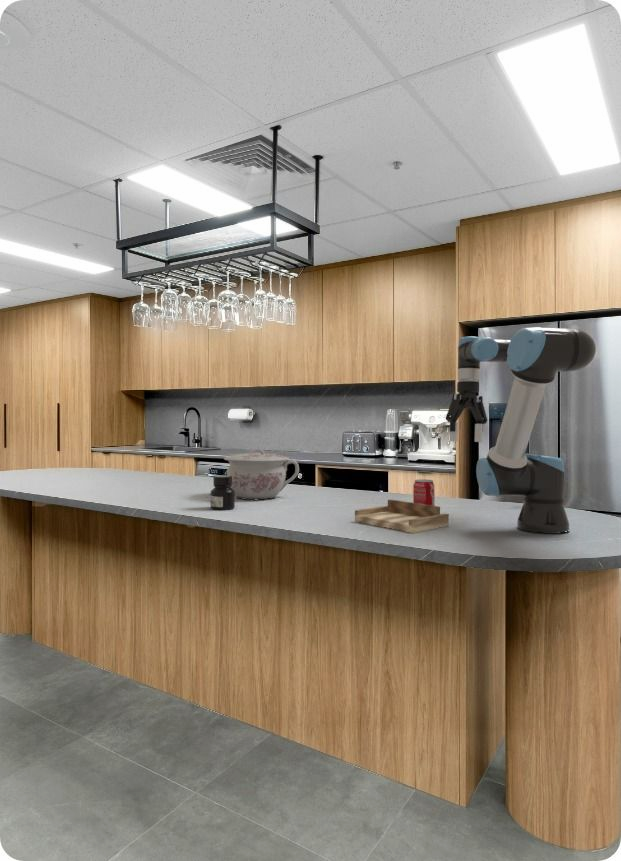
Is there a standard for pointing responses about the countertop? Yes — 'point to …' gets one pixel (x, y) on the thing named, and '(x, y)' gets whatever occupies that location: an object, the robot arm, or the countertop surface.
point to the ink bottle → (222, 493)
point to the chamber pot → (259, 474)
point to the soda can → (424, 492)
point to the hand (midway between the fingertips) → (466, 441)
